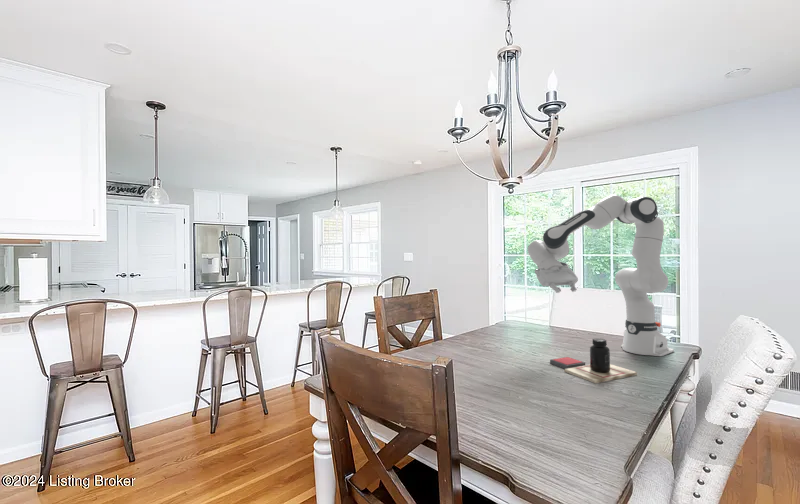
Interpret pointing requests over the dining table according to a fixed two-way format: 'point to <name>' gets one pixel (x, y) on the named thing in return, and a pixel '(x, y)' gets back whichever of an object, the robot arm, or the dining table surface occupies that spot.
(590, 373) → the marked board
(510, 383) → the dining table surface
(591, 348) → the supplement bottle
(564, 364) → the ink pad
